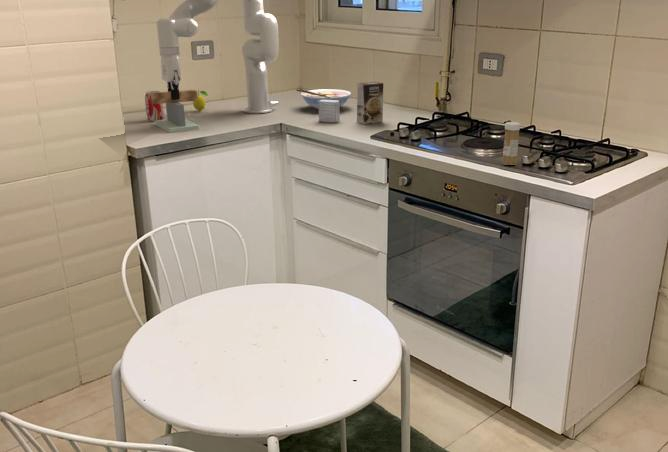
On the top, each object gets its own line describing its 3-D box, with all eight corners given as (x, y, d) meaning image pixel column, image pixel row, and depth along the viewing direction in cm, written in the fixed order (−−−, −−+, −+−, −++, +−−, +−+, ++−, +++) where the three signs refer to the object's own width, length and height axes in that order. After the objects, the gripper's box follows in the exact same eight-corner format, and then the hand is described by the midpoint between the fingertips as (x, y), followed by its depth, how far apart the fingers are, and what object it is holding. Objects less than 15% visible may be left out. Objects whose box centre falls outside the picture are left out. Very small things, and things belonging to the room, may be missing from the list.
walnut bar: (153, 104, 256) (152, 93, 255) (151, 102, 259) (150, 92, 257) (197, 100, 265) (196, 90, 264) (194, 99, 268) (194, 89, 266)
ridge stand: (182, 121, 276) (180, 97, 272) (199, 129, 261) (197, 104, 257) (155, 124, 270) (152, 100, 266) (170, 132, 255) (167, 107, 251)
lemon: (209, 110, 298) (207, 88, 295) (205, 112, 293) (203, 90, 289) (195, 110, 299) (193, 88, 295) (191, 112, 294) (189, 90, 290)
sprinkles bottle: (499, 163, 208) (502, 121, 204) (512, 162, 209) (516, 121, 204) (505, 167, 204) (509, 124, 199) (519, 166, 205) (523, 124, 200)
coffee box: (364, 124, 266) (364, 84, 260) (356, 122, 271) (356, 82, 265) (383, 122, 269) (384, 83, 264) (375, 119, 275) (375, 81, 269)
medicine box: (339, 121, 273) (339, 100, 270) (336, 123, 269) (336, 102, 266) (322, 119, 276) (321, 99, 273) (318, 122, 272) (318, 101, 269)
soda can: (159, 122, 274) (156, 93, 270) (144, 121, 276) (141, 93, 271) (167, 118, 281) (164, 90, 277) (152, 118, 282) (148, 90, 278)
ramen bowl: (362, 110, 294) (362, 92, 291) (320, 116, 282) (319, 97, 279) (331, 102, 314) (331, 85, 311) (290, 108, 302) (290, 90, 299)
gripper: (153, 50, 260) (158, 96, 266) (166, 54, 247) (171, 102, 253) (172, 49, 263) (176, 95, 270) (185, 52, 250) (190, 100, 257)
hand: (174, 98), depth 261 cm, fingers closed on walnut bar, 2 cm apart
